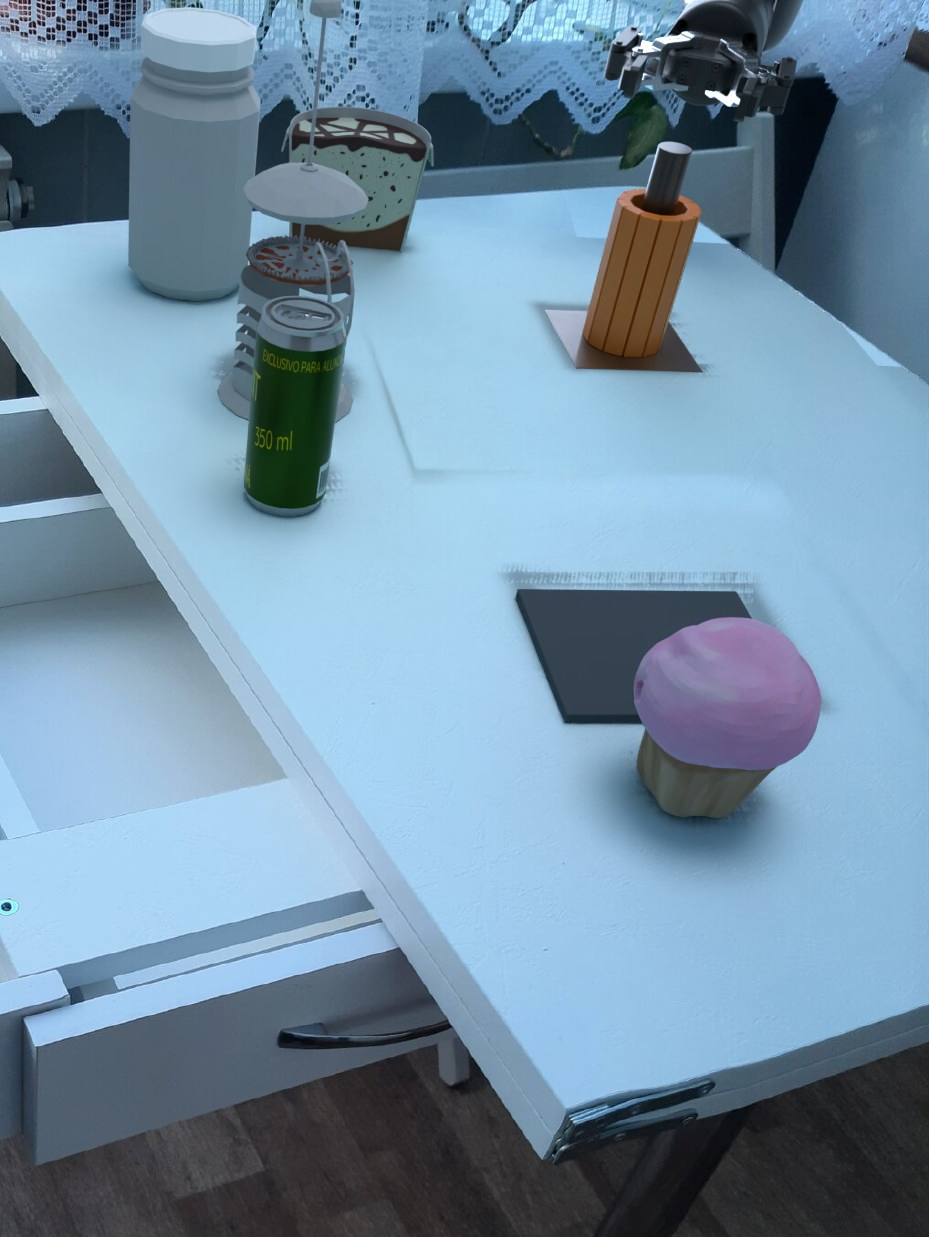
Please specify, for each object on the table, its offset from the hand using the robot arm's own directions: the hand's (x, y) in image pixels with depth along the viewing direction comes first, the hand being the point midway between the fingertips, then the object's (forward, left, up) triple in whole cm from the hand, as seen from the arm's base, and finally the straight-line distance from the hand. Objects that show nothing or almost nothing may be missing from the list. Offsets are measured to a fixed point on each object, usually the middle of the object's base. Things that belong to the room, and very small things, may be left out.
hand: (686, 96), depth 105 cm
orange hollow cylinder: (+4, +10, -14) cm, 18 cm away
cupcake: (+15, +61, -16) cm, 65 cm away
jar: (+37, -1, -16) cm, 40 cm away
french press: (+31, +19, -16) cm, 40 cm away
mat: (+13, +49, -15) cm, 53 cm away
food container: (+23, -9, -16) cm, 29 cm away
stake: (+4, +10, -15) cm, 19 cm away
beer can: (+33, +32, -16) cm, 49 cm away
